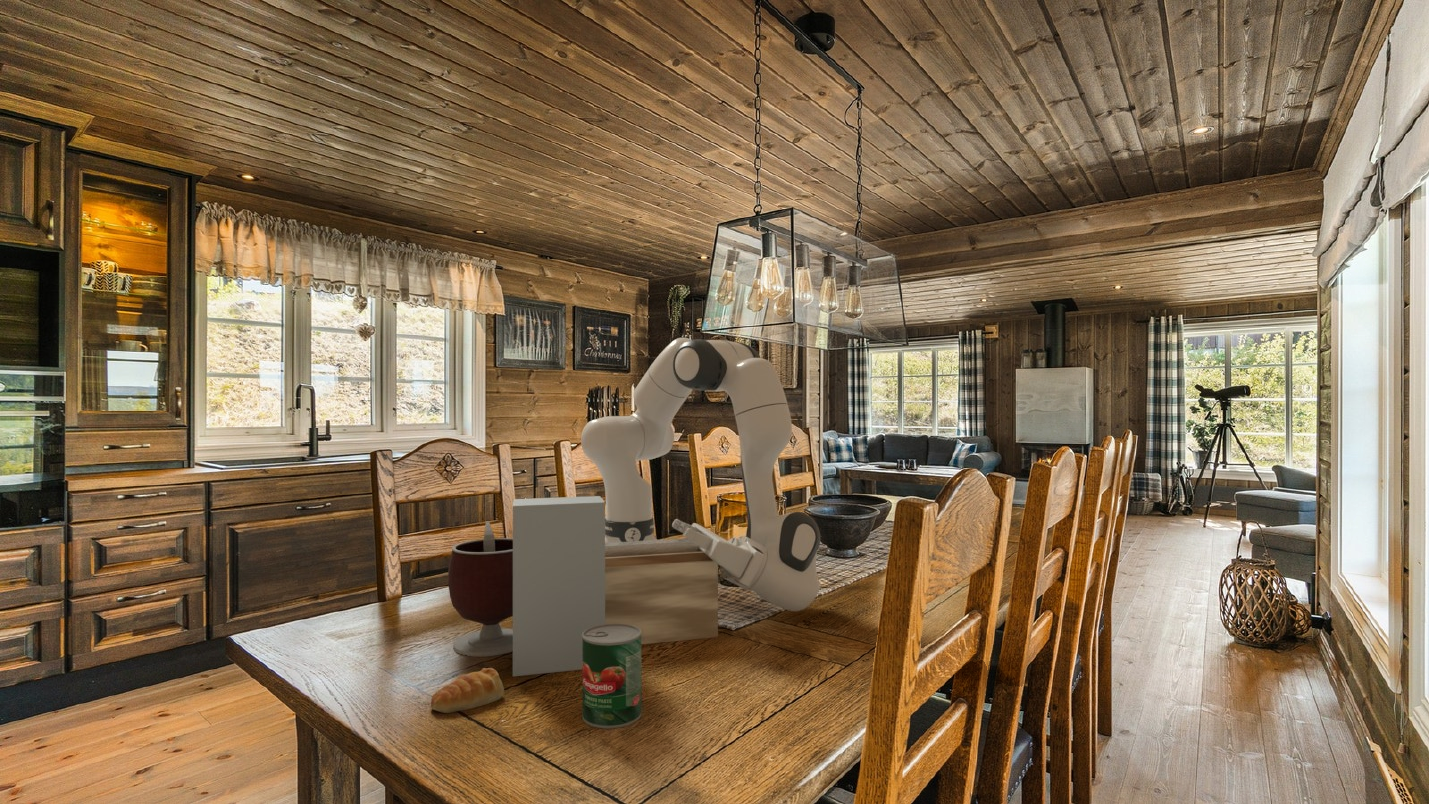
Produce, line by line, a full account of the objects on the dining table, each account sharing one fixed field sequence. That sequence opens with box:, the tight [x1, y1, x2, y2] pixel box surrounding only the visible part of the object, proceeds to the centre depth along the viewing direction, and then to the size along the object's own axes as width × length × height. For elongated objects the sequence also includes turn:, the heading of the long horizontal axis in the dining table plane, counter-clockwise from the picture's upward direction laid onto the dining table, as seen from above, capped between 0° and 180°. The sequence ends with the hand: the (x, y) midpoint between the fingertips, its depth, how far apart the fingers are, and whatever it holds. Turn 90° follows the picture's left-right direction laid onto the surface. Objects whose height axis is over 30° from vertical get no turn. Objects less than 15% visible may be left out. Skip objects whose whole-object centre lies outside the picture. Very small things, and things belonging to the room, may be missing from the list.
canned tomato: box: [581, 623, 643, 730], centre depth 90 cm, size 8×8×11 cm
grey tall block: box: [512, 495, 606, 677], centre depth 109 cm, size 8×14×26 cm, turn 106°
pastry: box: [429, 667, 505, 714], centre depth 94 cm, size 9×7×4 cm
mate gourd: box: [447, 520, 513, 658], centre depth 118 cm, size 16×14×20 cm
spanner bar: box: [605, 537, 701, 557], centre depth 123 cm, size 3×20×3 cm, turn 106°
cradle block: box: [605, 551, 719, 645], centre depth 123 cm, size 11×23×15 cm, turn 106°
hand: (679, 527), depth 124 cm, fingers open, 8 cm apart
